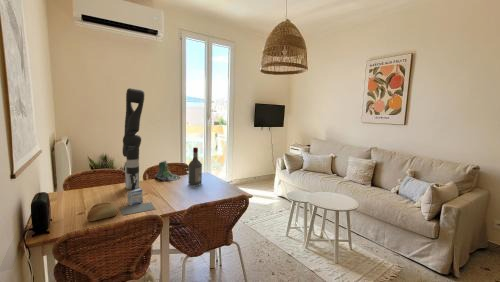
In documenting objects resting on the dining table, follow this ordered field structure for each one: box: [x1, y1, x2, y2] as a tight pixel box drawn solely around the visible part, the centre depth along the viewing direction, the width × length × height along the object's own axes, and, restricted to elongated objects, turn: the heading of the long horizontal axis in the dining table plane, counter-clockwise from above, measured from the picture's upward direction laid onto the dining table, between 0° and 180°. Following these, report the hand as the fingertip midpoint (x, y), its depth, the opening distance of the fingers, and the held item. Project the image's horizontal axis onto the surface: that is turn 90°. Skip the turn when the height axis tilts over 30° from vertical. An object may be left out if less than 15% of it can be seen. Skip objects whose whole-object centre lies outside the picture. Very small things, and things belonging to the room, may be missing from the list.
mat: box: [119, 201, 157, 216], centre depth 151 cm, size 12×18×1 cm, turn 125°
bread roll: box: [86, 202, 118, 222], centre depth 136 cm, size 10×15×8 cm, turn 140°
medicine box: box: [126, 188, 144, 206], centre depth 157 cm, size 8×4×9 cm, turn 148°
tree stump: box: [154, 160, 181, 182], centre depth 214 cm, size 18×20×18 cm
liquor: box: [187, 146, 203, 186], centre depth 201 cm, size 9×9×30 cm
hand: (133, 191), depth 162 cm, fingers closed
